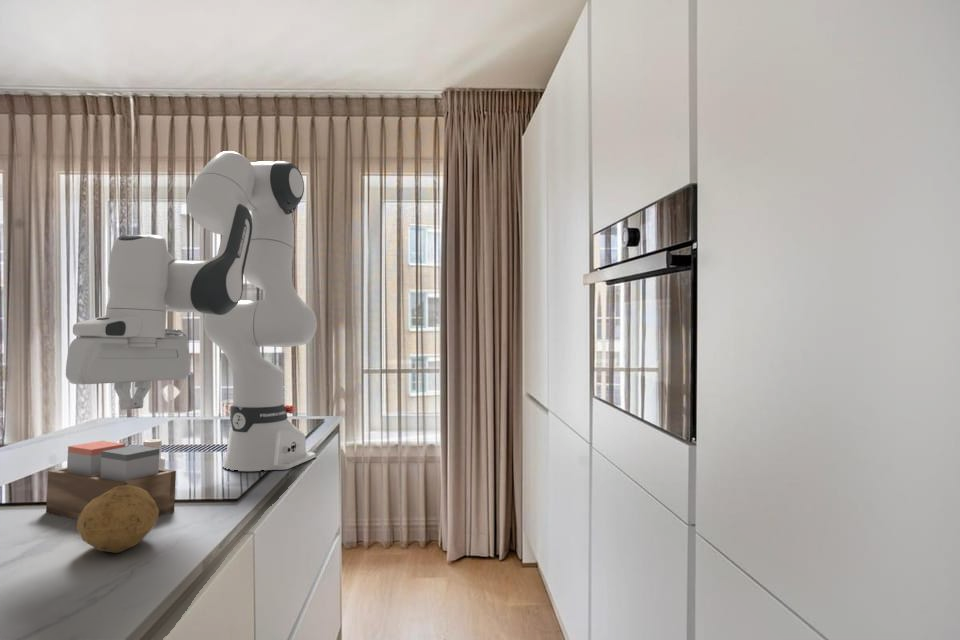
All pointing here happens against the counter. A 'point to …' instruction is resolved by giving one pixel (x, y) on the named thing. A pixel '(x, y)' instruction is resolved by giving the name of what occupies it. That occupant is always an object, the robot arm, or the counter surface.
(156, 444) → the pepper shaker
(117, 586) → the counter surface
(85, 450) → the red and grey cube
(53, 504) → the wooden divided tray
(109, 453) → the grey cube
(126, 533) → the potato
